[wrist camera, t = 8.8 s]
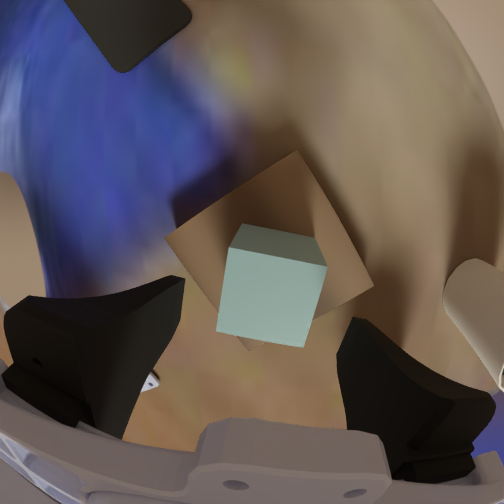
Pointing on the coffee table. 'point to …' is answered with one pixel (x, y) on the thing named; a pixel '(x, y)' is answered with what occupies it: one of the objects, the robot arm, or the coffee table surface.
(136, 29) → the phone
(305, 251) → the painted block
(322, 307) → the walnut base
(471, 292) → the beige cup
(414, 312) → the coffee table surface
